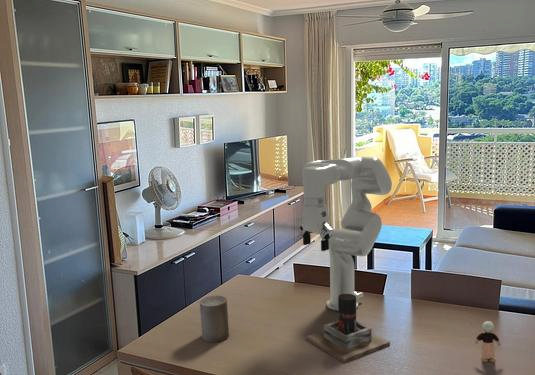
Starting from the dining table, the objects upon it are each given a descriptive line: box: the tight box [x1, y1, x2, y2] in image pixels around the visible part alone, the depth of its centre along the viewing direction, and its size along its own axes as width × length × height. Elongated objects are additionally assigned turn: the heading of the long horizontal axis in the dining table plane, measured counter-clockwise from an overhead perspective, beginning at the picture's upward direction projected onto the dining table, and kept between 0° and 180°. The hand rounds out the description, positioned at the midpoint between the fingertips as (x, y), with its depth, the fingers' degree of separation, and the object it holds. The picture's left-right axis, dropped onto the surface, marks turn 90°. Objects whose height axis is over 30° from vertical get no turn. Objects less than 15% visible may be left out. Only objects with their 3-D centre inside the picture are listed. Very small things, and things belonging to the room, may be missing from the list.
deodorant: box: [337, 294, 357, 341], centre depth 178 cm, size 6×6×15 cm
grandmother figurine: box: [474, 320, 502, 363], centre depth 163 cm, size 8×4×13 cm, turn 92°
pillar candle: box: [199, 294, 230, 343], centre depth 185 cm, size 10×10×15 cm
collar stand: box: [306, 319, 391, 363], centre depth 179 cm, size 20×20×6 cm
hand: (315, 247), depth 189 cm, fingers open, 9 cm apart
